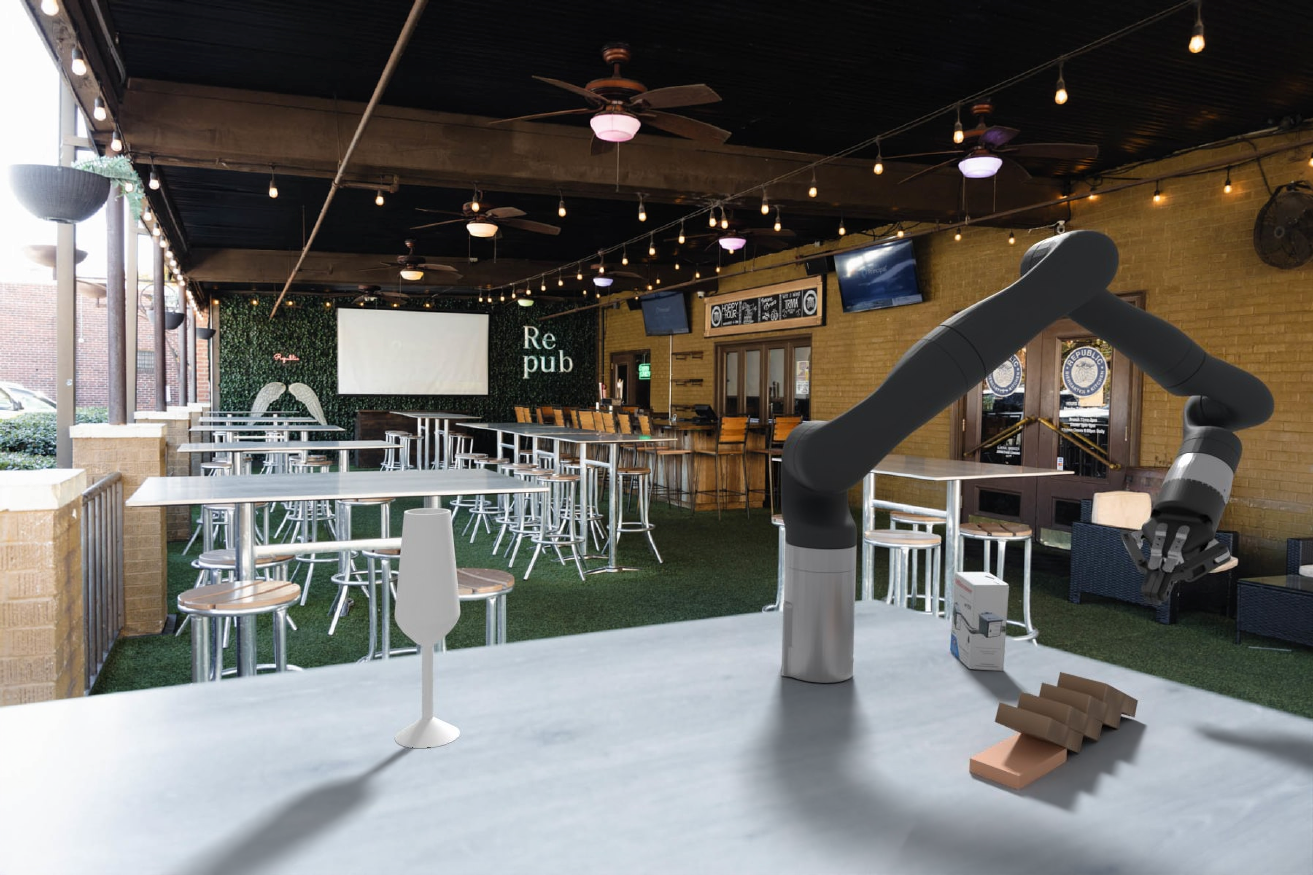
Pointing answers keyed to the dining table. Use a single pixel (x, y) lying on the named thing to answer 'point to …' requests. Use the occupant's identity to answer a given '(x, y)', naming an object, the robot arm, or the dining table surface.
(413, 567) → the champagne flute
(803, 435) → the robot arm
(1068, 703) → the tile
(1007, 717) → the tile
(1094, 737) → the tile
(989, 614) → the ink box
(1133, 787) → the dining table surface
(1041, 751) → the tile
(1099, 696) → the tile
